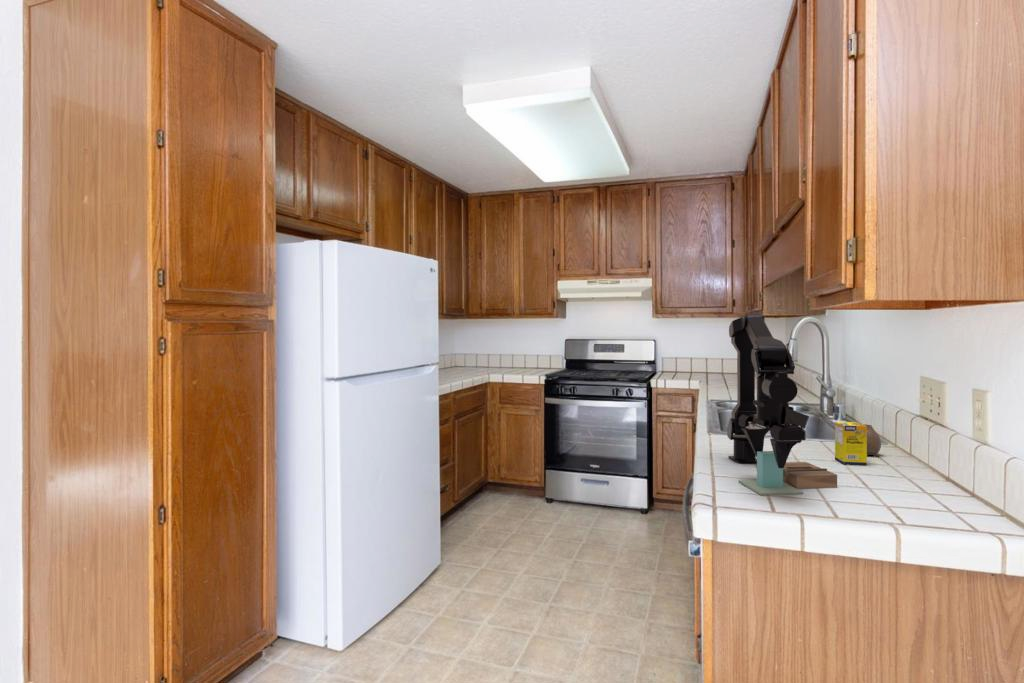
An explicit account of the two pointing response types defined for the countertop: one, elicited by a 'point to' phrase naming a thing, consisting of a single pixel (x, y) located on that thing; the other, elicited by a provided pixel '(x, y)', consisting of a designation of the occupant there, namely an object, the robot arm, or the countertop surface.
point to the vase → (872, 441)
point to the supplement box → (851, 443)
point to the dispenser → (808, 476)
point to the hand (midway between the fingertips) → (769, 462)
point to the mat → (770, 491)
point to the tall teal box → (768, 470)
